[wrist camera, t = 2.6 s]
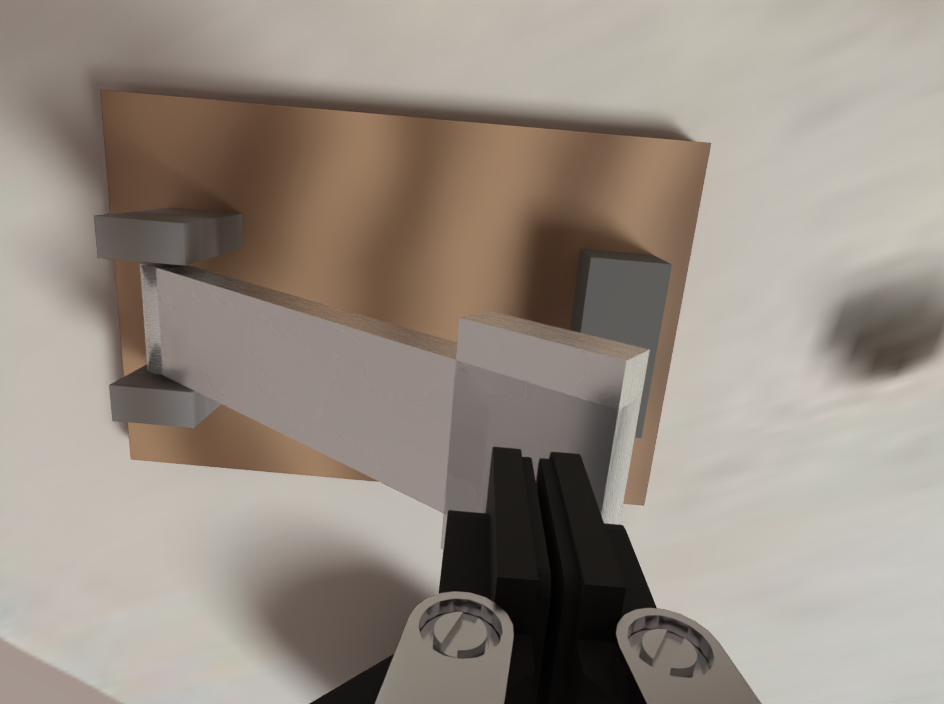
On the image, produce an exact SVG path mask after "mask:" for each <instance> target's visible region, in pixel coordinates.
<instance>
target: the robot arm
mask: <svg viewBox="0 0 944 704" xmlns="http://www.w3.org/2000/svg"><path fill="white" fill-rule="evenodd" d="M310 704H761V702H760V701H759V699H758V698H757V696H756V695H755V693H754V692H753V691H752V689H751V688H750V686H749V685H748V683H747V682H746V680H745V679H744V678H743V676H742V675H741V673H740V672H739V670H738V669H737V667H736V666H735V665H734V663H733V662H732V660H731V659H730V657H729V656H728V654H727V653H726V652H725V650H724V649H723V647H722V646H721V644H720V643H719V642H718V641H717V640H716V638H715V637H714V636H713V635H712V634H711V633H710V632H709V631H708V630H707V629H705V628H704V627H703V626H701V625H700V624H698V623H697V622H696V621H694V620H692V619H690V618H688V617H686V616H684V615H682V614H679V613H676V612H672V611H669V610H665V609H657V608H656V605H655V602H654V600H653V597H652V595H651V592H650V590H649V587H648V585H647V582H646V580H645V577H644V575H643V572H642V570H641V567H640V565H639V562H638V560H637V557H636V555H635V552H634V550H633V547H632V545H631V542H630V540H629V537H628V534H627V532H626V530H625V528H624V526H623V525H619V524H607V523H604V522H603V519H602V516H601V513H600V510H599V507H598V504H597V501H596V498H595V495H594V492H593V489H592V487H591V484H590V481H589V478H588V475H587V472H586V469H585V466H584V463H583V460H582V457H581V455H580V454H574V453H563V452H551V453H550V456H549V459H545V458H540V459H539V463H538V469H537V477H536V480H535V474H534V468H533V462H532V458H531V457H522V452H521V449H516V448H504V447H493V448H492V455H491V464H490V474H489V484H488V493H487V503H486V513H478V512H466V511H454V510H448V515H447V524H446V533H445V542H444V551H443V560H442V569H441V578H440V587H439V594H437V595H434V596H431V597H429V598H426V599H425V600H424V601H422V602H421V603H420V604H418V605H417V606H416V607H415V608H414V610H413V612H412V613H411V615H410V616H409V618H408V621H407V623H406V626H405V628H404V631H403V634H402V636H401V639H400V641H399V644H398V646H397V649H396V651H395V654H393V655H391V656H390V657H388V658H386V659H385V660H383V661H381V662H380V663H378V664H376V665H374V666H373V667H371V668H369V669H368V670H366V671H364V672H363V673H361V674H359V675H357V676H356V677H354V678H352V679H351V680H349V681H347V682H346V683H344V684H342V685H340V686H339V687H337V688H335V689H334V690H332V691H330V692H329V693H327V694H325V695H323V696H322V697H320V698H318V699H317V700H315V701H313V702H312V703H310Z"/></svg>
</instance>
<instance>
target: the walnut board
mask: <svg viewBox="0 0 944 704" xmlns="http://www.w3.org/2000/svg"><path fill="white" fill-rule="evenodd" d="M100 95H101V107H102V119H103V131H104V143H105V155H106V167H107V179H108V191H109V203H110V214H106V215H97V216H94V222H95V233H96V244H97V255H98V258H106V259H114V263H115V275H116V287H117V300H118V312H119V324H120V336H121V348H122V360H123V372H124V377H123V378H121V379H119V380H118V381H116V382H114V383H112V384H110V385H109V387H110V399H111V410H112V421H119V422H128V432H129V444H130V456H131V459H132V460H143V461H154V462H165V463H176V464H187V465H199V466H210V467H221V468H232V469H243V470H254V471H265V472H277V473H288V474H299V475H310V476H321V477H332V478H343V479H354V480H366V481H377V480H375V479H373V478H371V477H369V476H367V475H365V474H363V473H361V472H359V471H357V470H355V469H353V468H351V467H349V466H347V465H344V464H342V463H340V462H338V461H336V460H334V459H332V458H330V457H328V456H326V455H324V454H322V453H320V452H318V451H316V450H314V449H312V448H310V447H308V446H306V445H304V444H302V443H300V442H298V441H296V440H294V439H292V438H290V437H288V436H286V435H284V434H282V433H280V432H277V431H275V430H273V429H271V428H269V427H267V426H265V425H263V424H261V423H259V422H257V421H255V420H253V419H251V418H249V417H247V416H245V415H243V414H241V413H239V412H237V411H235V410H233V409H231V408H229V407H227V406H225V405H223V404H221V403H219V402H217V401H215V400H212V399H210V398H208V397H206V396H204V395H202V394H200V393H198V392H196V391H194V390H192V389H190V388H188V387H186V386H184V385H182V384H180V383H178V382H176V381H174V380H172V379H170V378H168V377H166V376H164V375H158V374H153V373H150V372H149V371H148V370H147V357H146V343H145V329H144V315H143V301H142V286H141V272H140V263H142V262H151V263H162V264H174V265H185V266H186V265H189V266H193V267H196V268H200V269H203V270H207V271H210V272H214V273H217V274H221V275H224V276H228V277H231V278H235V279H238V280H242V281H245V282H249V283H252V284H256V285H259V286H263V287H266V288H270V289H273V290H277V291H280V292H283V293H287V294H290V295H294V296H297V297H301V298H304V299H308V300H311V301H315V302H318V303H322V304H325V305H329V306H332V307H336V308H339V309H343V310H346V311H350V312H353V313H357V314H360V315H364V316H367V317H371V318H374V319H378V320H381V321H385V322H388V323H391V324H395V325H398V326H402V327H405V328H409V329H412V330H416V331H419V332H423V333H426V334H430V335H433V336H437V337H440V338H444V339H447V340H451V341H454V342H458V329H459V318H460V317H465V316H469V315H474V314H478V313H483V312H487V311H492V312H496V313H501V314H505V315H509V316H513V317H517V318H521V319H525V320H530V321H534V322H538V323H542V324H546V325H550V326H554V327H559V328H563V329H567V330H570V325H571V317H572V310H573V302H574V295H575V287H576V280H577V272H578V265H579V258H580V250H581V249H590V250H602V251H613V252H625V253H636V254H647V255H654V256H656V257H658V258H660V259H662V260H664V261H666V262H668V263H670V264H672V268H671V274H670V280H669V285H668V291H667V296H666V302H665V308H664V313H663V319H662V325H661V330H660V336H659V342H658V347H657V353H656V358H655V364H654V370H653V375H652V381H651V387H650V392H649V398H648V404H647V409H646V415H645V421H644V426H643V432H642V437H641V438H634V443H633V449H632V455H631V461H630V466H629V472H628V478H627V484H626V489H625V495H624V501H623V504H633V505H644V503H645V498H646V492H647V487H648V481H649V476H650V471H651V465H652V460H653V454H654V449H655V444H656V438H657V433H658V427H659V422H660V417H661V411H662V406H663V400H664V395H665V390H666V384H667V379H668V373H669V368H670V363H671V357H672V352H673V346H674V341H675V336H676V330H677V325H678V319H679V314H680V309H681V303H682V298H683V292H684V287H685V282H686V276H687V271H688V265H689V260H690V255H691V249H692V244H693V238H694V233H695V228H696V222H697V217H698V211H699V206H700V201H701V195H702V190H703V184H704V179H705V174H706V168H707V163H708V157H709V152H710V147H711V143H705V142H694V141H682V140H671V139H659V138H648V137H636V136H625V135H613V134H602V133H590V132H579V131H567V130H556V129H544V128H533V127H521V126H510V125H499V124H487V123H476V122H464V121H453V120H441V119H430V118H418V117H407V116H395V115H384V114H372V113H361V112H349V111H338V110H326V109H315V108H303V107H292V106H280V105H269V104H257V103H246V102H234V101H223V100H212V99H200V98H189V97H177V96H166V95H154V94H143V93H131V92H120V91H108V90H100ZM377 482H379V481H377Z"/></svg>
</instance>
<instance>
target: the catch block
mask: <svg viewBox="0 0 944 704" xmlns="http://www.w3.org/2000/svg"><path fill="white" fill-rule="evenodd" d="M671 268H672V264H670V263H668V262H666V261H664V260H662V259H660V258H658V257H656V256H654V255H647V254H636V253H625V252H613V251H602V250H590V249H581V250H580V258H579V265H578V272H577V280H576V287H575V295H574V302H573V310H572V317H571V325H570V330H571V331H575V332H579V333H583V334H588V335H592V336H596V337H600V338H604V339H608V340H612V341H617V342H621V343H625V344H629V345H633V346H637V347H641V348H646V349H650V351H649V357H648V363H647V369H646V374H645V380H644V386H643V392H642V397H641V403H640V409H639V415H638V420H637V426H636V432H635V438H641V437H642V432H643V426H644V421H645V415H646V409H647V404H648V398H649V392H650V387H651V381H652V375H653V370H654V364H655V358H656V353H657V347H658V342H659V336H660V330H661V325H662V319H663V313H664V308H665V302H666V296H667V291H668V285H669V280H670V274H671Z"/></svg>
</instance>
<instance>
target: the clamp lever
mask: <svg viewBox="0 0 944 704" xmlns="http://www.w3.org/2000/svg"><path fill="white" fill-rule="evenodd" d="M140 272H141V286H142V301H143V315H144V329H145V343H146V357H147V370H148V371H149V372H150V373H153V374H158V375H164V376H166V377H168V378H170V379H172V380H174V381H176V382H178V383H180V384H182V385H184V386H186V387H188V388H190V389H192V390H194V391H196V392H198V393H200V394H202V395H204V396H206V397H208V398H210V399H212V400H215V401H217V402H219V403H221V404H223V405H225V406H227V407H229V408H231V409H233V410H235V411H237V412H239V413H241V414H243V415H245V416H247V417H249V418H251V419H253V420H255V421H257V422H259V423H261V424H263V425H265V426H267V427H269V428H271V429H273V430H275V431H277V432H280V433H282V434H284V435H286V436H288V437H290V438H292V439H294V440H296V441H298V442H300V443H302V444H304V445H306V446H308V447H310V448H312V449H314V450H316V451H318V452H320V453H322V454H324V455H326V456H328V457H330V458H332V459H334V460H336V461H338V462H340V463H342V464H344V465H347V466H349V467H351V468H353V469H355V470H357V471H359V472H361V473H363V474H365V475H367V476H369V477H371V478H373V479H375V480H377V481H379V482H381V483H383V484H385V485H387V486H389V487H391V488H393V489H395V490H397V491H399V492H401V493H403V494H405V495H407V496H409V497H412V498H414V499H416V500H418V501H420V502H422V503H424V504H426V505H428V506H430V507H432V508H434V509H436V510H438V511H440V512H442V513H444V517H443V529H442V542H441V548H442V549H443V550H444V542H445V533H446V524H447V515H448V510H454V511H466V512H478V513H486V503H487V493H488V484H489V474H490V464H491V455H492V448H493V447H504V448H516V449H521V452H522V457H531V458H532V462H533V468H534V474H535V480H536V477H537V469H538V463H539V459H540V458H545V459H549V456H550V453H551V452H563V453H574V454H580V455H581V457H582V460H583V463H584V466H585V469H586V472H587V475H588V478H589V481H590V484H591V487H592V489H593V492H594V495H595V498H596V501H597V504H598V507H599V510H600V513H601V516H602V519H603V522H604V523H607V524H620V518H621V512H622V507H623V501H624V495H625V489H626V484H627V478H628V472H629V466H630V461H631V455H632V449H633V443H634V438H635V432H636V426H637V420H638V415H639V409H640V403H641V397H642V392H643V386H644V380H645V374H646V369H647V363H648V357H649V351H650V349H646V348H641V347H637V346H633V345H629V344H625V343H621V342H617V341H612V340H608V339H604V338H600V337H596V336H592V335H588V334H583V333H579V332H575V331H571V330H567V329H563V328H559V327H554V326H550V325H546V324H542V323H538V322H534V321H530V320H525V319H521V318H517V317H513V316H509V315H505V314H501V313H496V312H492V311H487V312H483V313H478V314H474V315H469V316H465V317H460V318H459V329H458V342H454V341H451V340H447V339H444V338H440V337H437V336H433V335H430V334H426V333H423V332H419V331H416V330H412V329H409V328H405V327H402V326H398V325H395V324H391V323H388V322H385V321H381V320H378V319H374V318H371V317H367V316H364V315H360V314H357V313H353V312H350V311H346V310H343V309H339V308H336V307H332V306H329V305H325V304H322V303H318V302H315V301H311V300H308V299H304V298H301V297H297V296H294V295H290V294H287V293H283V292H280V291H277V290H273V289H270V288H266V287H263V286H259V285H256V284H252V283H249V282H245V281H242V280H238V279H235V278H231V277H228V276H224V275H221V274H217V273H214V272H210V271H207V270H203V269H200V268H196V267H193V266H189V265H186V266H185V265H174V264H162V263H151V262H142V263H140Z"/></svg>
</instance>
